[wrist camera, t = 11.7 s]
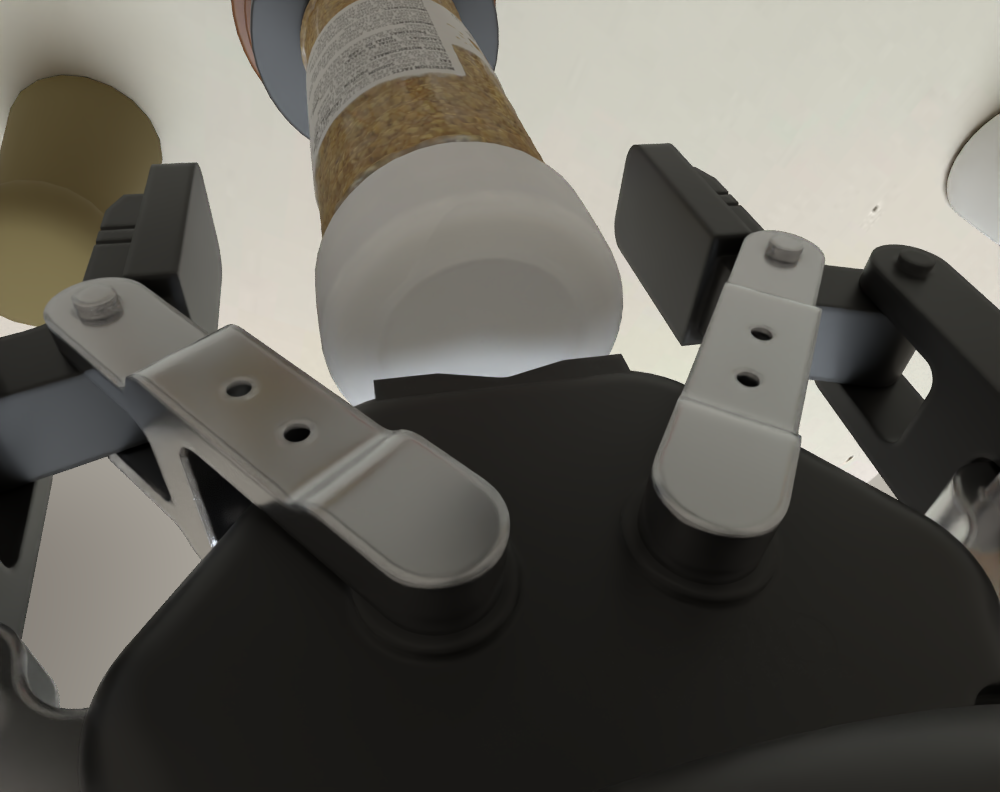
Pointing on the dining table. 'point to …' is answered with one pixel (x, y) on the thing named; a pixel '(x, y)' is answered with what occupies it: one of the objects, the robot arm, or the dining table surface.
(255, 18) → the amber bottle
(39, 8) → the dining table surface
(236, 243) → the dining table surface
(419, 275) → the spice jar
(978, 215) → the milk bottle
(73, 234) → the cork
